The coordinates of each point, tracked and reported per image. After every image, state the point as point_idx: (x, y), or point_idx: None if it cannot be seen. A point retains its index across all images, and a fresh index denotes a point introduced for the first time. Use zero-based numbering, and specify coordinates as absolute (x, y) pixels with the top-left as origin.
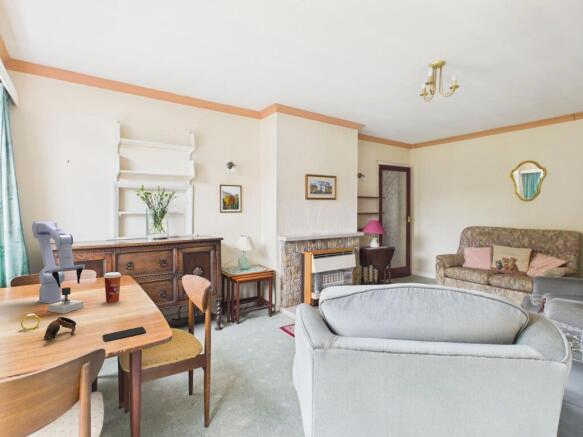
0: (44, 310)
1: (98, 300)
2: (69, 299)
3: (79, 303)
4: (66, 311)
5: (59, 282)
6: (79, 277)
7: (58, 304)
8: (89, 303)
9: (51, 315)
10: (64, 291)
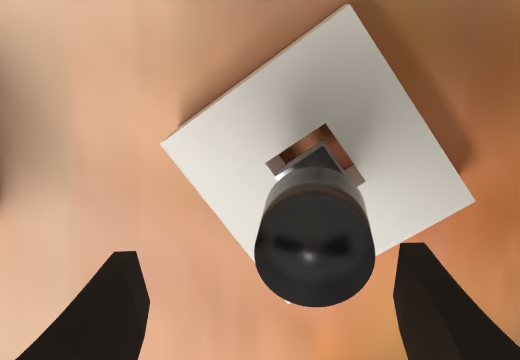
0: (481, 221)
1: (65, 264)
2: None
3: (197, 116)
4: (321, 22)
5: (435, 296)
6: (55, 326)
7: (386, 164)
8: (131, 217)
9: (451, 11)
10: (338, 190)
